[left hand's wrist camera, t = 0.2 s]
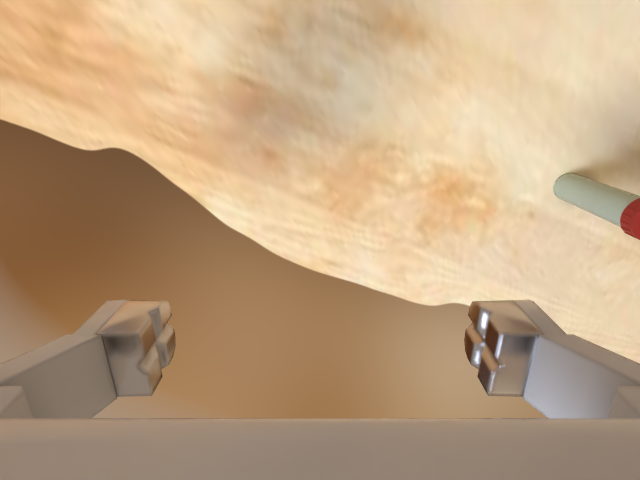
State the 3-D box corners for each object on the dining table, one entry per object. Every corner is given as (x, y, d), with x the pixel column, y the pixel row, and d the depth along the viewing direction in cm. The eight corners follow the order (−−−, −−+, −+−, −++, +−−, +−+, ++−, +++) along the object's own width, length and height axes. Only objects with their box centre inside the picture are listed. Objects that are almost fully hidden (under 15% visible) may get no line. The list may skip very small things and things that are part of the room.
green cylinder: (553, 201, 59) (631, 240, 44) (553, 176, 57) (633, 207, 43) (580, 195, 58) (668, 232, 44) (580, 170, 57) (671, 199, 42)
